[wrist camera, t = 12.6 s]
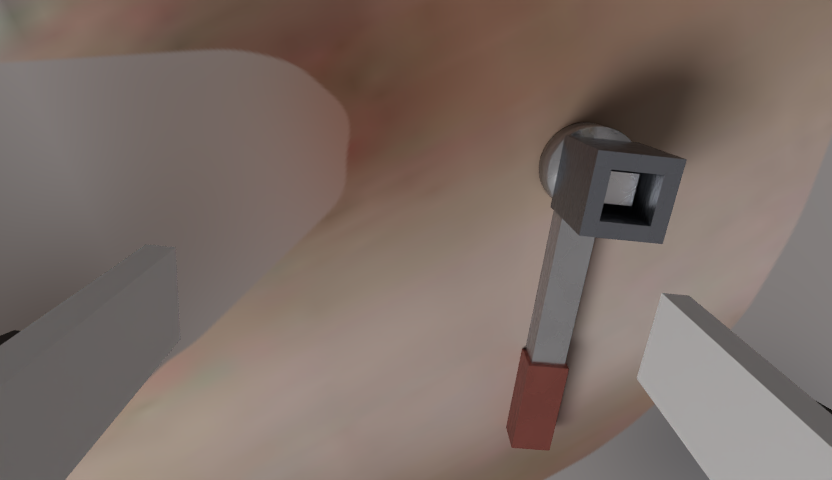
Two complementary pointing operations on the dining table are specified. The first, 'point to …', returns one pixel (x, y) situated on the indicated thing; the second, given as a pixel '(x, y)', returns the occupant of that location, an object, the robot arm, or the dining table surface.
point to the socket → (588, 181)
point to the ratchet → (557, 301)
